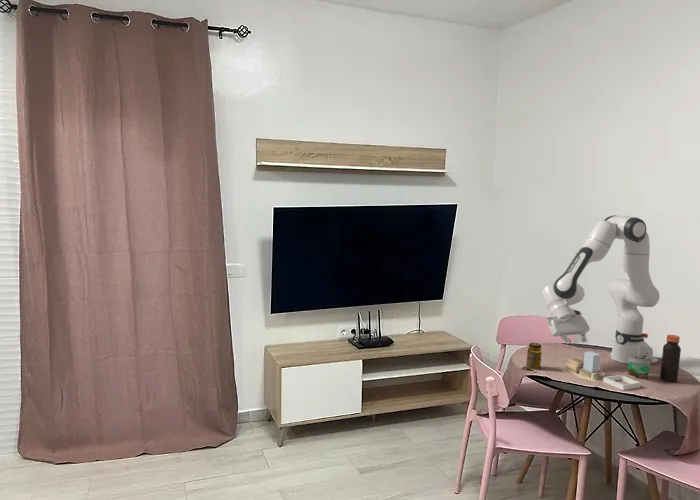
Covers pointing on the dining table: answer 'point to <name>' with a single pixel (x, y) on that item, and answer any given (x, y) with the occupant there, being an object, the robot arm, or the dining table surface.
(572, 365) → the offcut stack
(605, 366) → the dining table surface
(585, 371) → the rack
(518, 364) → the dining table surface
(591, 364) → the light blue block
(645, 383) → the dining table surface
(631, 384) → the white square frame
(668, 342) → the bottle
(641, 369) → the food container
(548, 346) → the dining table surface
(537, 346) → the condiment
